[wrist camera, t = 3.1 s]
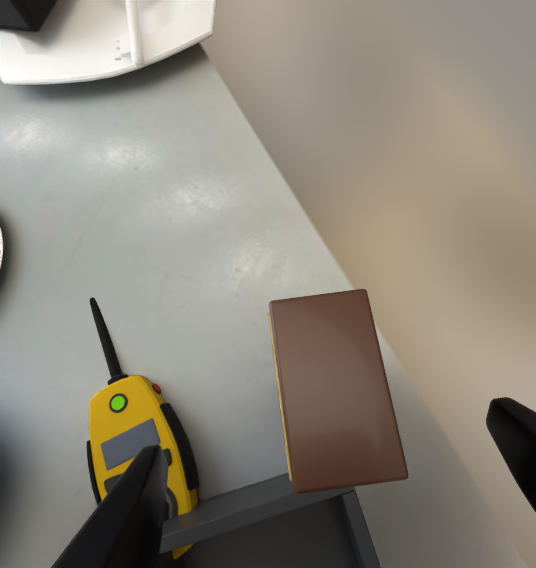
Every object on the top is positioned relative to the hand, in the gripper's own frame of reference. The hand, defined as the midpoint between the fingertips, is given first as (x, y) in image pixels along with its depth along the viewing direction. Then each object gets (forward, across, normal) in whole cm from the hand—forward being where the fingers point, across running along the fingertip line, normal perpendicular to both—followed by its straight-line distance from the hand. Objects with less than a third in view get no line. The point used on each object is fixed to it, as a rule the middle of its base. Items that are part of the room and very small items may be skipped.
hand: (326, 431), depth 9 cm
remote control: (+8, +10, +7) cm, 14 cm away
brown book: (+4, 0, +2) cm, 5 cm away
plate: (+31, +12, -16) cm, 37 cm away
